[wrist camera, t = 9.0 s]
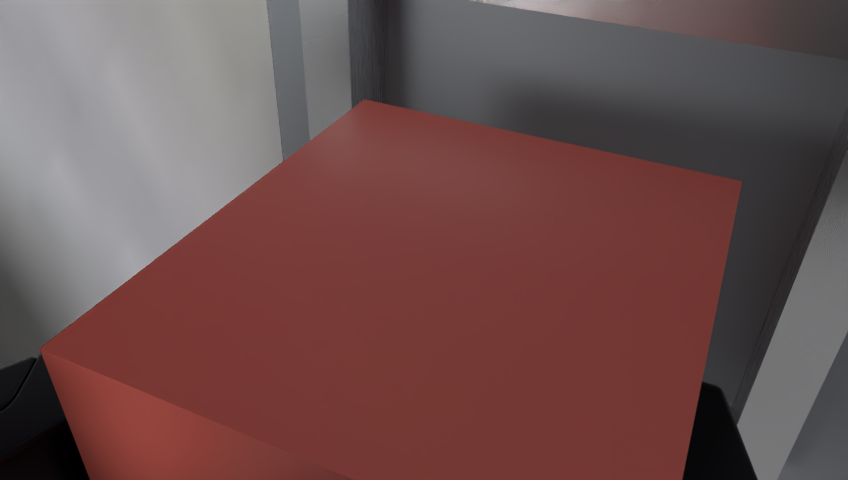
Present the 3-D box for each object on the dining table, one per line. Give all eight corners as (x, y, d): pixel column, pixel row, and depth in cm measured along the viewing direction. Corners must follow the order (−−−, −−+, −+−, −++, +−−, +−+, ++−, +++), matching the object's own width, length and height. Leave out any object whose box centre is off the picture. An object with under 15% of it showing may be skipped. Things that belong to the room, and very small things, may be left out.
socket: (767, 455, 13) (762, 510, 12) (356, 317, 15) (326, 354, 14) (985, -30, 8) (1005, -1, 7) (337, -104, 11) (291, -89, 10)
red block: (654, 458, 10) (532, 957, 6) (371, 359, 12) (115, 705, 7) (742, 180, 8) (634, 719, 3) (364, 99, 9) (-34, 403, 5)
